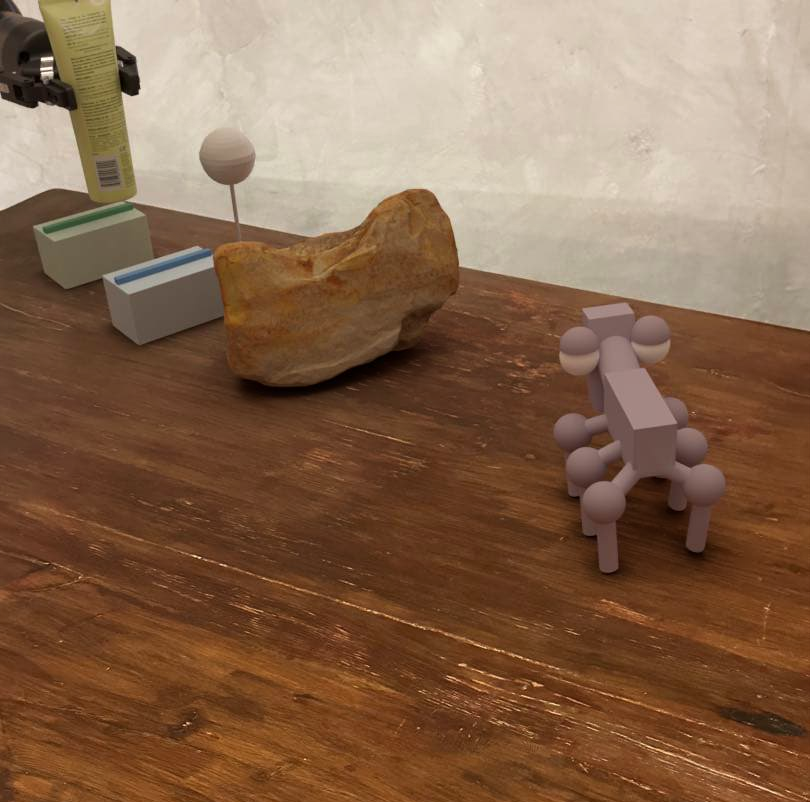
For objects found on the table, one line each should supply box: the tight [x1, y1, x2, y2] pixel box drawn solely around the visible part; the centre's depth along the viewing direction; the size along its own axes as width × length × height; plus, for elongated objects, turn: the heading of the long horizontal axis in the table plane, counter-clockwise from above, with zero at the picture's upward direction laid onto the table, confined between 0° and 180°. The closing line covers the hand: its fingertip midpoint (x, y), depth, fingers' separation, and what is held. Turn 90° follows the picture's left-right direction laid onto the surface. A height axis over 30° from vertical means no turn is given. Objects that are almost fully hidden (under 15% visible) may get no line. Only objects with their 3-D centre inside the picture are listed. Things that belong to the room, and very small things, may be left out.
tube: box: [37, 0, 138, 204], centre depth 111 cm, size 6×5×20 cm
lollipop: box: [198, 127, 257, 242], centre depth 124 cm, size 6×6×15 cm
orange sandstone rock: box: [212, 188, 461, 388], centre depth 107 cm, size 23×17×15 cm
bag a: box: [101, 245, 224, 346], centre depth 115 cm, size 11×6×6 cm, turn 127°
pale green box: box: [32, 201, 155, 290], centre depth 127 cm, size 11×6×6 cm, turn 127°
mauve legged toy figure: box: [552, 301, 727, 574], centre depth 85 cm, size 20×11×14 cm, turn 6°
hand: (103, 92), depth 109 cm, fingers closed on tube, 6 cm apart
